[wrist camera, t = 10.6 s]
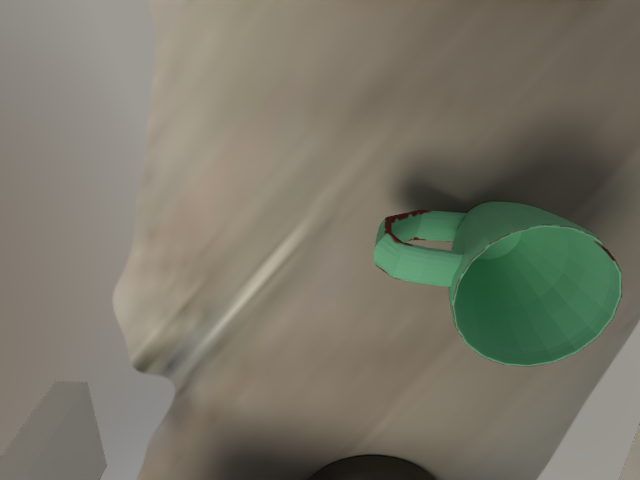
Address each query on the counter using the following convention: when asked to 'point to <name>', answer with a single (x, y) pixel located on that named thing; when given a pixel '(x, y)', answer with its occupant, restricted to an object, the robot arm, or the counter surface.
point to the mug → (509, 277)
